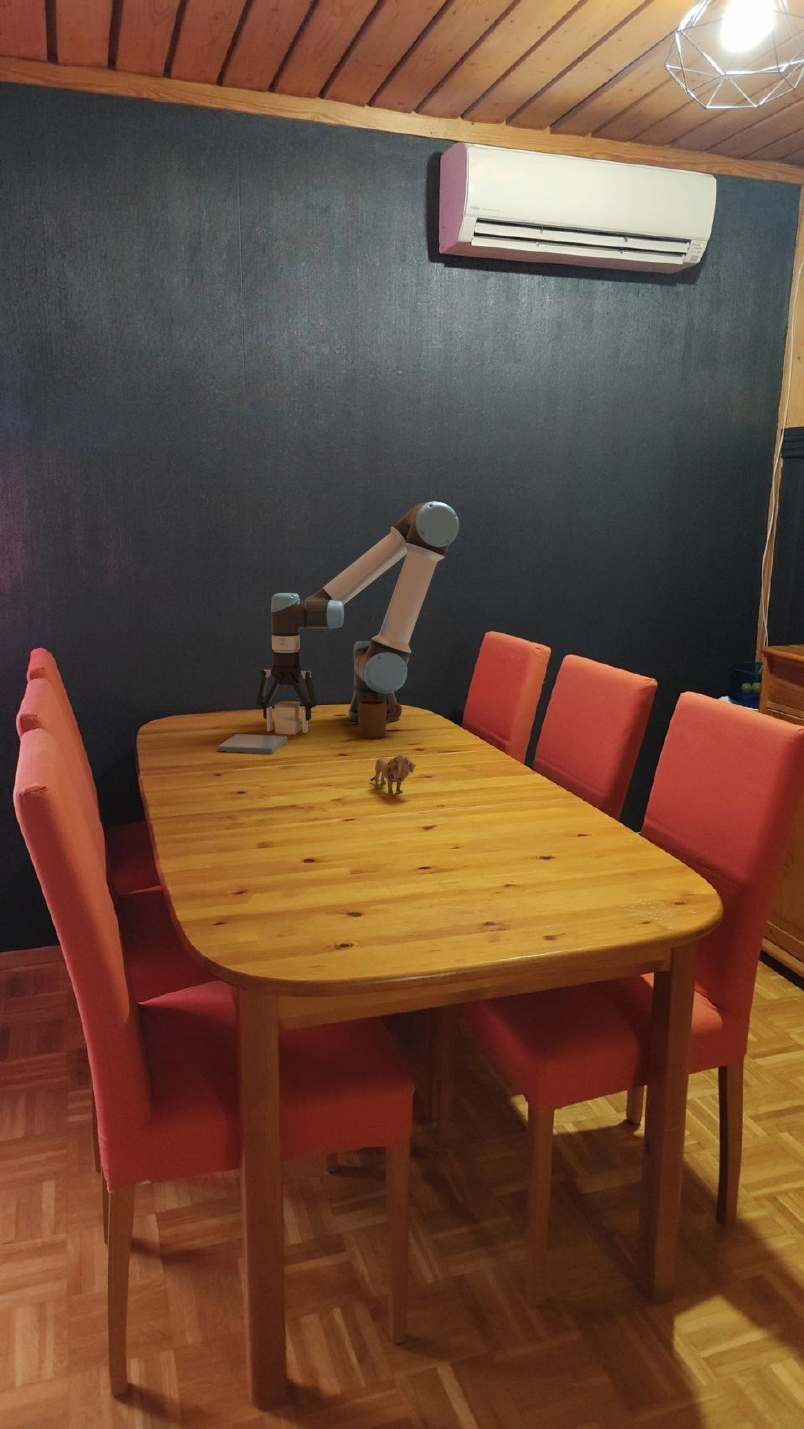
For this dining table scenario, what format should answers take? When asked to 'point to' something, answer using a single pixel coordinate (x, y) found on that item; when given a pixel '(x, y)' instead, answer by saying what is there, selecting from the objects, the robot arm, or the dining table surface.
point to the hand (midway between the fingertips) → (287, 731)
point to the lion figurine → (393, 772)
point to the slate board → (253, 743)
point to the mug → (375, 718)
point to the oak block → (287, 717)
